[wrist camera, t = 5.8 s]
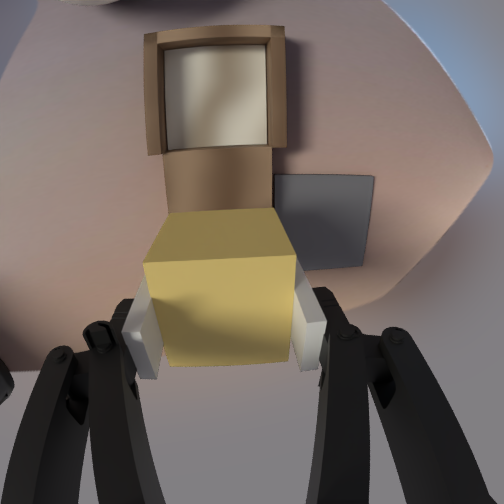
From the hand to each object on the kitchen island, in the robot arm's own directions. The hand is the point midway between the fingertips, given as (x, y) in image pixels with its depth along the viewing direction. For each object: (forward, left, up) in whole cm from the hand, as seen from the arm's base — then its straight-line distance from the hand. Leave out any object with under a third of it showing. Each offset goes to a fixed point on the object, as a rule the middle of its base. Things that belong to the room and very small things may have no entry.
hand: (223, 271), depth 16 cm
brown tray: (0, +6, -9) cm, 11 cm away
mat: (+9, -1, -9) cm, 13 cm away
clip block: (0, 0, +1) cm, 1 cm away
